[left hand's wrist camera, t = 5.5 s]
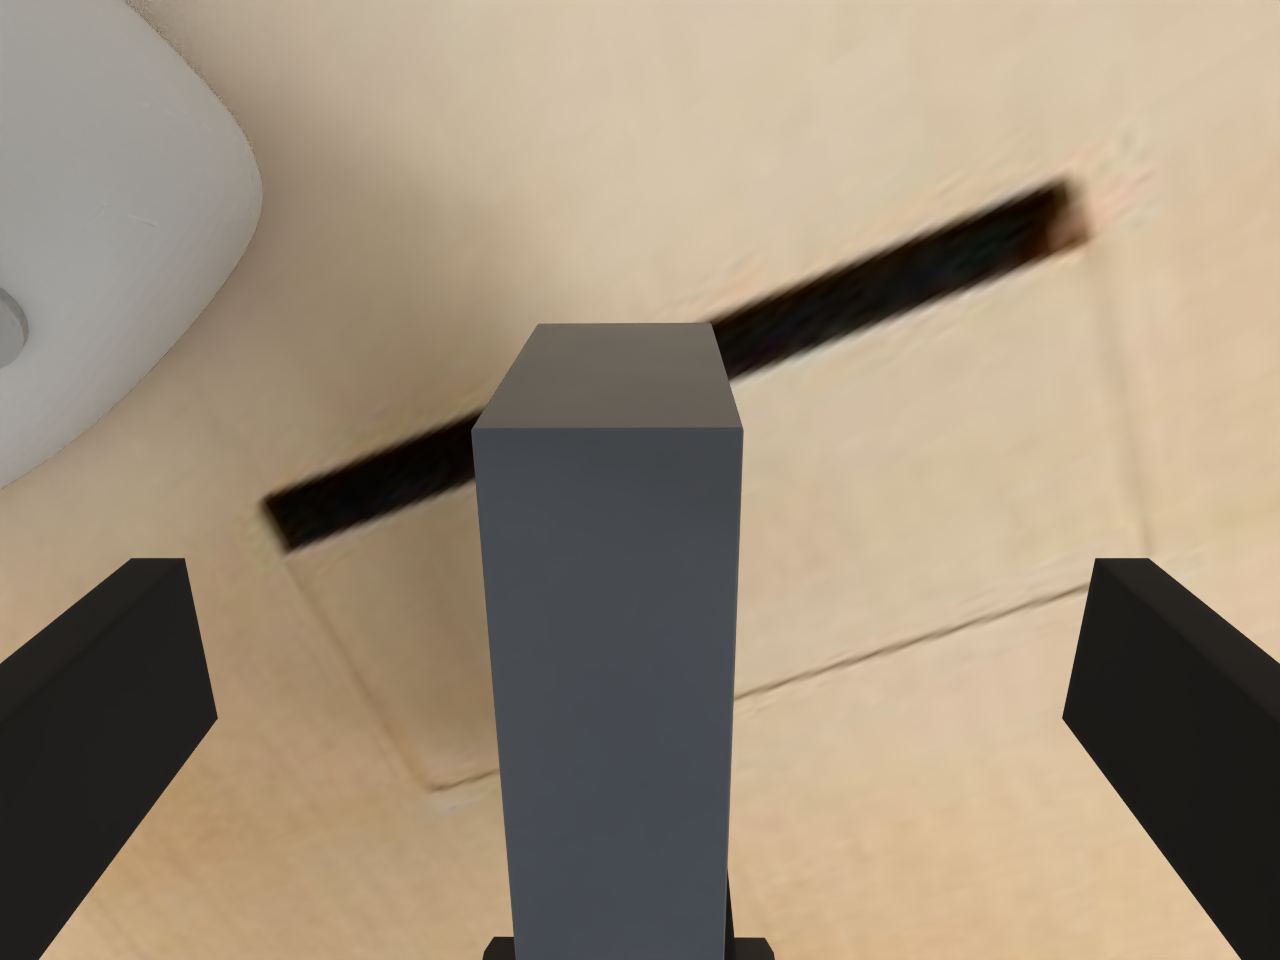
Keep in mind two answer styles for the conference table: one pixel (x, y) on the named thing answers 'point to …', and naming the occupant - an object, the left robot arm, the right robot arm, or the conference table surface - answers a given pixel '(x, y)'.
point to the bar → (613, 635)
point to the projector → (104, 213)
